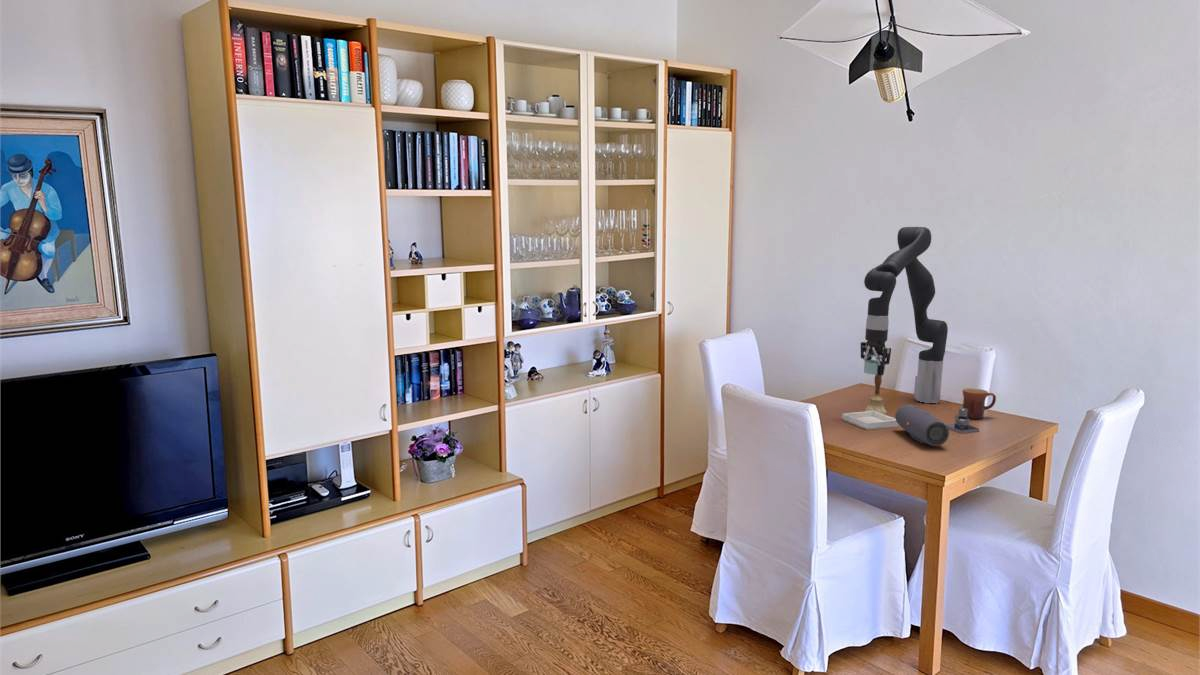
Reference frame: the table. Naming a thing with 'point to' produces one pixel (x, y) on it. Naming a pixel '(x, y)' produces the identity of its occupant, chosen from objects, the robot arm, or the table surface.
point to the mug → (976, 402)
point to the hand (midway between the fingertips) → (873, 373)
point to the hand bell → (877, 398)
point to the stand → (962, 423)
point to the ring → (871, 367)
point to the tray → (870, 420)
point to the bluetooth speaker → (922, 425)
